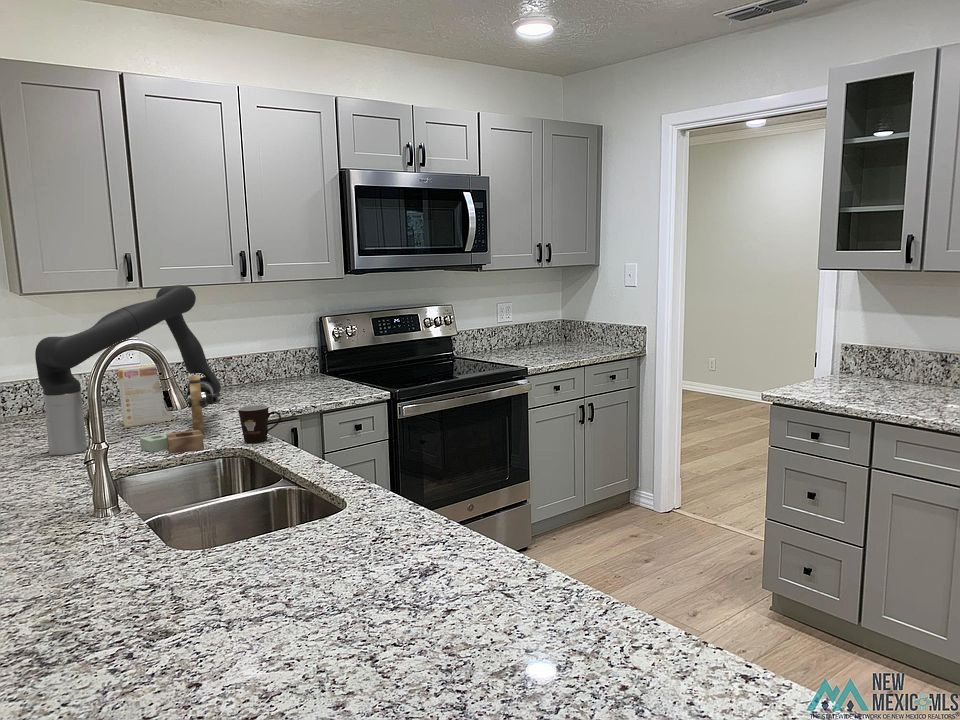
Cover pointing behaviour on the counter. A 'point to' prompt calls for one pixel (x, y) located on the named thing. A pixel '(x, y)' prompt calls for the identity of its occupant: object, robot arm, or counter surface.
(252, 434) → the coffee mug
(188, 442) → the slotted wooden block
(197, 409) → the tan wooden bar
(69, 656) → the counter surface
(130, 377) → the coffeecake box
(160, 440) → the bead
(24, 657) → the counter surface
